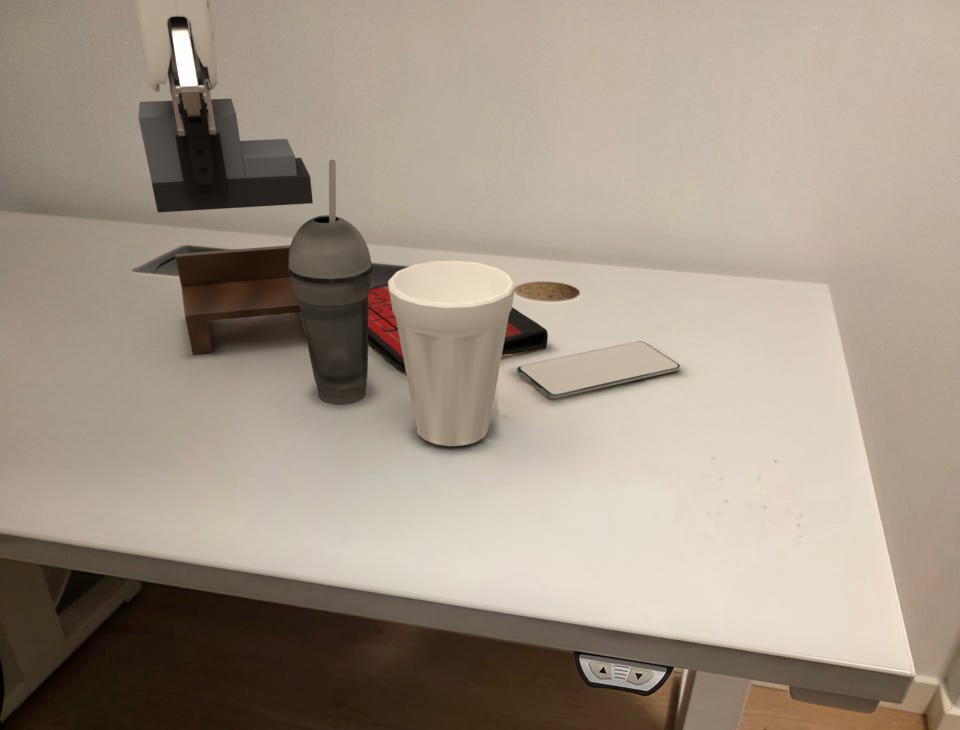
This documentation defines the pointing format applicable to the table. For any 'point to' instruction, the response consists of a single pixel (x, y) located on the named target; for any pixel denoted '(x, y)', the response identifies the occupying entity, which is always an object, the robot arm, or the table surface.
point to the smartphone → (597, 369)
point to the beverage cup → (333, 301)
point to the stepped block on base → (248, 164)
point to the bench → (233, 288)
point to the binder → (387, 341)
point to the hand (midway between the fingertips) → (205, 178)
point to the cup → (452, 344)
